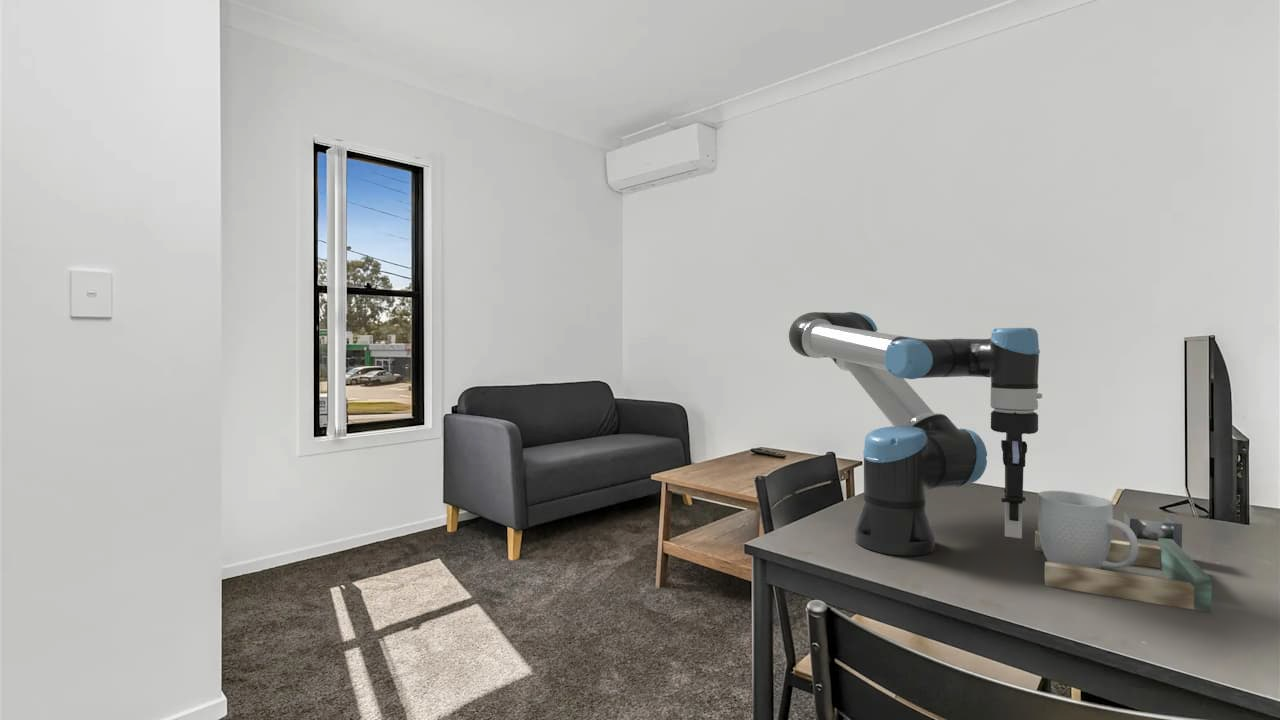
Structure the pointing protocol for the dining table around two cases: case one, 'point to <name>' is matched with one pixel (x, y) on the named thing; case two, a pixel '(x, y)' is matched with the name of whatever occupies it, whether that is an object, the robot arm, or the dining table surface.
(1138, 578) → the bay
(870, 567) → the dining table surface
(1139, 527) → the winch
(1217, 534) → the dining table surface
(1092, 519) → the mug
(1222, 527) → the dining table surface
